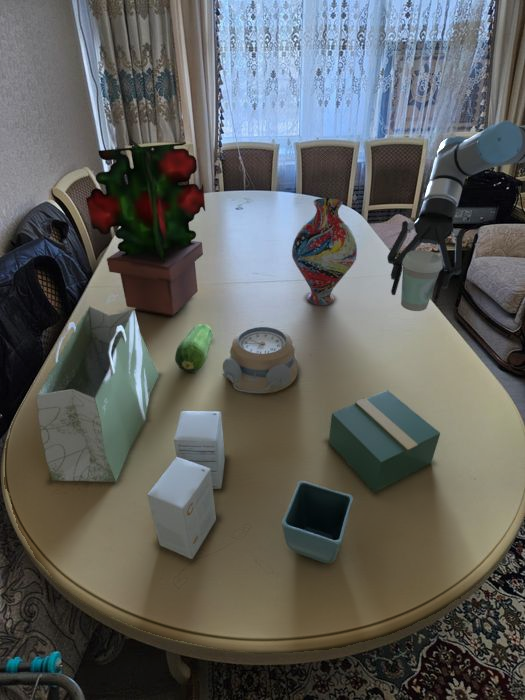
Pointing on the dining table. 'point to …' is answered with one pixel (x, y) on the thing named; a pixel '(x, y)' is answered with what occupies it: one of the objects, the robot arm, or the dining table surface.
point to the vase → (324, 250)
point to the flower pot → (316, 521)
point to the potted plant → (151, 224)
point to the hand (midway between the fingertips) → (414, 296)
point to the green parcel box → (382, 439)
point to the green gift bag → (95, 397)
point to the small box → (183, 506)
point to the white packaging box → (202, 442)
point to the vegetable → (194, 348)
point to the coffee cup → (419, 278)
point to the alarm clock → (261, 361)
